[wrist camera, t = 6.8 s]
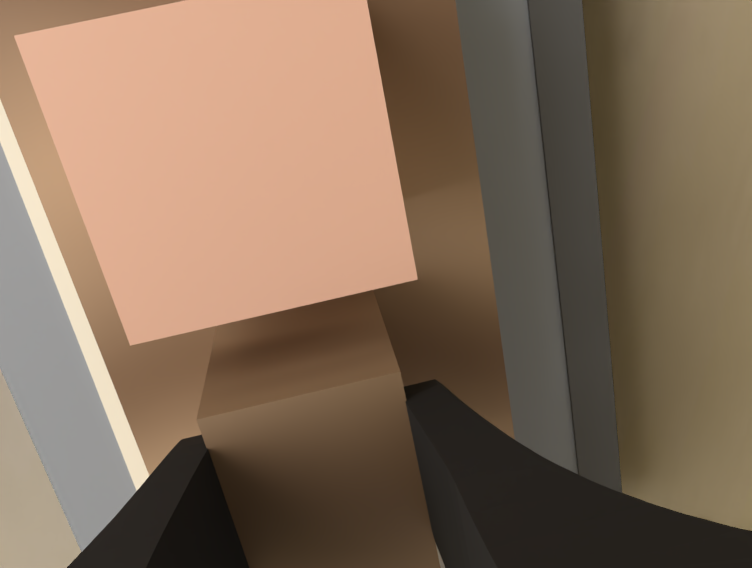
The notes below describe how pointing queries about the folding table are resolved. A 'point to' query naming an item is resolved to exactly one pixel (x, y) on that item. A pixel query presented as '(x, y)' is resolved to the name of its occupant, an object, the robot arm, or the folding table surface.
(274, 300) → the block
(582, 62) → the dock
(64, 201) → the pallet
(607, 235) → the folding table surface
